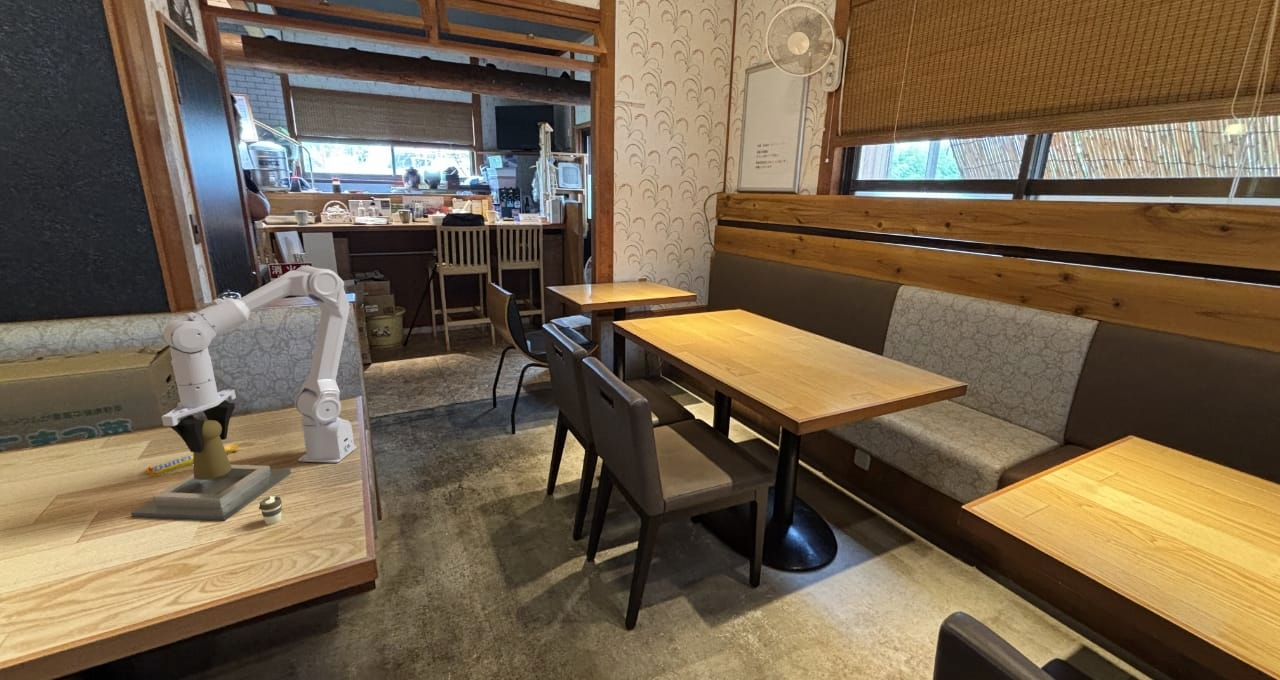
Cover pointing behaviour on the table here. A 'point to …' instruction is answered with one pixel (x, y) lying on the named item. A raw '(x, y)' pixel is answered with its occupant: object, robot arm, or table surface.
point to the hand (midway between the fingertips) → (209, 445)
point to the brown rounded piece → (211, 454)
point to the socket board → (212, 494)
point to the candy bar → (182, 462)
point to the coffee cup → (271, 509)
